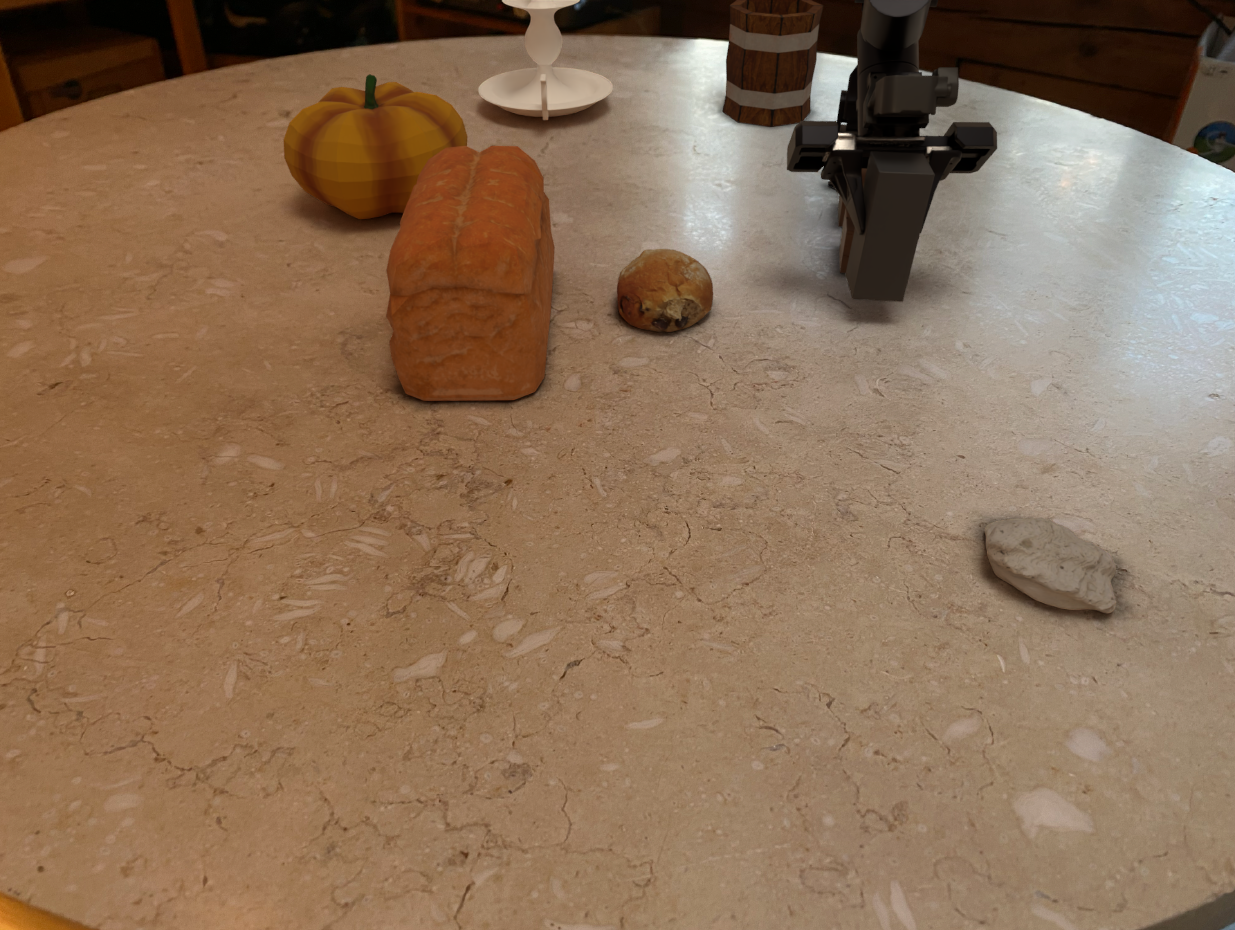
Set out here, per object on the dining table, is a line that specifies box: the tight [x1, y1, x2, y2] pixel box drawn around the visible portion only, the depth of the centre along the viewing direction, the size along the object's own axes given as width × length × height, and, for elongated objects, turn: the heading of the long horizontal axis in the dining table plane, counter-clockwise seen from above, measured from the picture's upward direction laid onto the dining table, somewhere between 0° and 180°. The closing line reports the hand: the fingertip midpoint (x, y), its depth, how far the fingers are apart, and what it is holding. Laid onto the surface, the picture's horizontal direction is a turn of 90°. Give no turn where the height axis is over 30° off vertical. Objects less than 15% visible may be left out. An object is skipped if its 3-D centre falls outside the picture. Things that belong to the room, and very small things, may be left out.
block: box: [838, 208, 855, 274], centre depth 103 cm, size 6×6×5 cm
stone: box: [983, 517, 1118, 614], centre depth 66 cm, size 10×5×10 cm
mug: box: [722, 0, 824, 128], centre depth 142 cm, size 20×14×15 cm
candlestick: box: [477, 0, 614, 121], centre depth 135 cm, size 21×25×28 cm
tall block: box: [844, 151, 935, 303], centre depth 90 cm, size 5×5×13 cm
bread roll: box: [616, 248, 714, 333], centre depth 95 cm, size 10×10×8 cm
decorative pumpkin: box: [282, 74, 468, 220], centre depth 114 cm, size 20×22×15 cm
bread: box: [385, 145, 556, 402], centre depth 89 cm, size 14×27×15 cm, turn 1°
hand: (889, 233), depth 89 cm, fingers closed on tall block, 5 cm apart
